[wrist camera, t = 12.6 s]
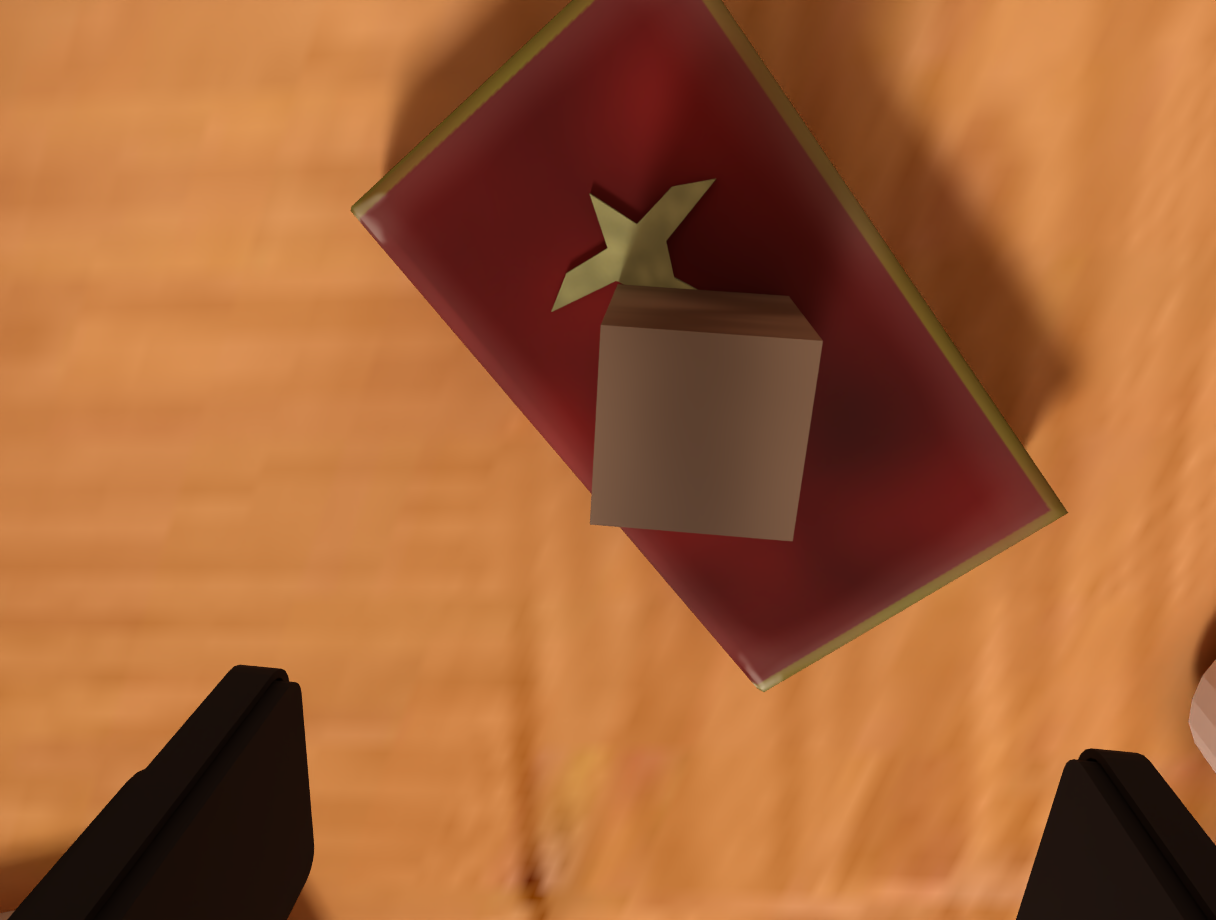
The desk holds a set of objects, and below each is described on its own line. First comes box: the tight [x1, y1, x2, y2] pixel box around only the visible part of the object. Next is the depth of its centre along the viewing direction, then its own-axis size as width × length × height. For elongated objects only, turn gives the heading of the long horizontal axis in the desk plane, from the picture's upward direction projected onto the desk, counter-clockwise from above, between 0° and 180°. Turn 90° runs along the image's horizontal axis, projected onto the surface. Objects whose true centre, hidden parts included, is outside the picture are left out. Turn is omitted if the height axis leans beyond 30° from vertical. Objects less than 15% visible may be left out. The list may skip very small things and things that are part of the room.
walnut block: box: [590, 284, 823, 541], centre depth 22 cm, size 5×5×6 cm
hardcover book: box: [351, 0, 1068, 692], centre depth 27 cm, size 12×21×4 cm, turn 39°
